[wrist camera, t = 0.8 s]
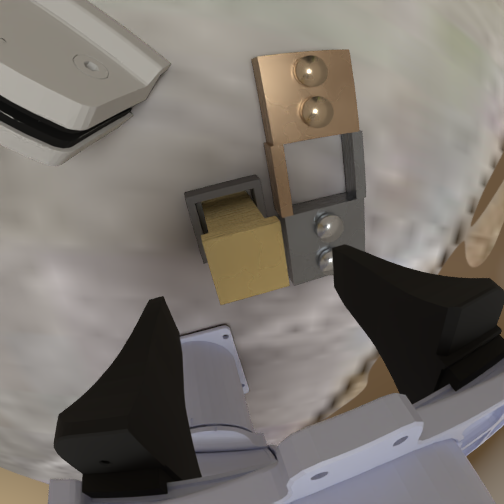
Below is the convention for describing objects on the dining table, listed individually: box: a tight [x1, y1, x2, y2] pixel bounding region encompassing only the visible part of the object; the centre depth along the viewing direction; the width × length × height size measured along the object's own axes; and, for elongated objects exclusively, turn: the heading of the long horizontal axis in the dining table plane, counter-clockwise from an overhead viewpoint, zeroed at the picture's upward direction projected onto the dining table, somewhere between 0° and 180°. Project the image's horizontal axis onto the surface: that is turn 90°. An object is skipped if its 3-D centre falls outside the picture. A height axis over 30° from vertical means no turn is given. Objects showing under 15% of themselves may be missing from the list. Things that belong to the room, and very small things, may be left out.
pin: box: [201, 191, 290, 305], centre depth 19 cm, size 4×4×7 cm
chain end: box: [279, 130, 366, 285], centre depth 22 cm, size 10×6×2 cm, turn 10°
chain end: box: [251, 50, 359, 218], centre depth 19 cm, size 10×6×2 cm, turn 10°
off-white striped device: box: [0, 0, 171, 166], centre depth 10 cm, size 17×5×10 cm, turn 46°
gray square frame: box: [185, 175, 267, 263], centre depth 21 cm, size 5×5×1 cm
